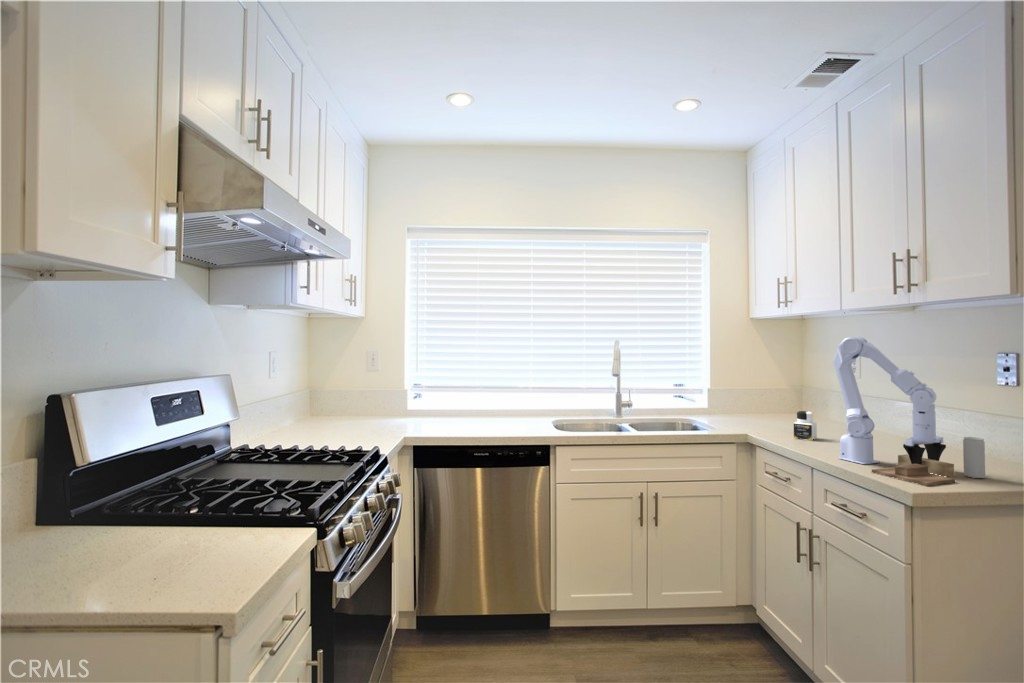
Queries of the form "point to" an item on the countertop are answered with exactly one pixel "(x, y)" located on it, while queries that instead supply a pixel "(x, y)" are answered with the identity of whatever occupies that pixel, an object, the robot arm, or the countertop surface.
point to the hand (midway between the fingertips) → (924, 466)
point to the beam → (930, 465)
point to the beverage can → (974, 457)
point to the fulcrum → (914, 474)
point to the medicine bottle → (805, 426)
